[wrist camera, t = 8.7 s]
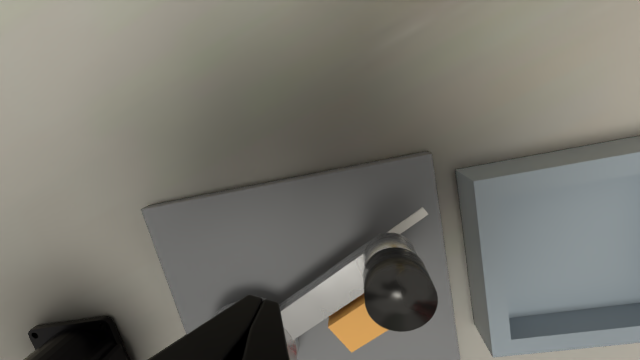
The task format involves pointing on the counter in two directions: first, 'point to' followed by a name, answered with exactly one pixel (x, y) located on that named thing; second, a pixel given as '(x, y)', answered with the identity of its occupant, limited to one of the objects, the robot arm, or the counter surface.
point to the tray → (554, 248)
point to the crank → (365, 290)
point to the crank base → (308, 251)
